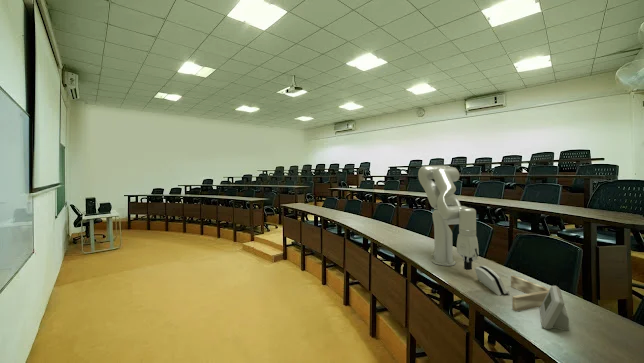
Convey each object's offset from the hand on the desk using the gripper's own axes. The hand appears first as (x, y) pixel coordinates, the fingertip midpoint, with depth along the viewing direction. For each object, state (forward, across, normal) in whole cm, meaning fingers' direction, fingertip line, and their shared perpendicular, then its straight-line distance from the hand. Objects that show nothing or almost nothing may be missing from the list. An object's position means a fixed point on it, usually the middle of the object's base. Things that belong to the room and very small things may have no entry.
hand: (467, 269), depth 136 cm
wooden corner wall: (+4, +25, +1) cm, 26 cm away
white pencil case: (+4, +13, 0) cm, 14 cm away
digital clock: (+4, +42, -4) cm, 42 cm away
